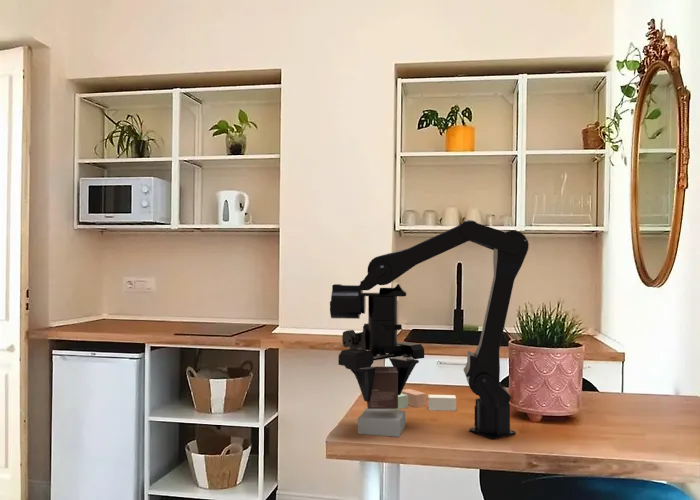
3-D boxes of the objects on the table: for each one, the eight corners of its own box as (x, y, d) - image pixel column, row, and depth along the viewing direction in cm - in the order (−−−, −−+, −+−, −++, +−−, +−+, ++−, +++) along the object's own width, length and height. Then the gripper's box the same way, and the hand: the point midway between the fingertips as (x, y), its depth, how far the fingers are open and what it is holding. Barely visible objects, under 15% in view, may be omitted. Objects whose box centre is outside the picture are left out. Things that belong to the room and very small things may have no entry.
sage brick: (398, 405, 145) (398, 392, 145) (408, 408, 142) (408, 395, 142) (379, 409, 141) (379, 396, 141) (388, 412, 139) (388, 398, 139)
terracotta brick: (426, 406, 144) (426, 393, 144) (416, 408, 142) (416, 395, 142) (408, 401, 149) (408, 388, 149) (399, 403, 147) (399, 390, 147)
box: (398, 409, 121) (398, 371, 121) (367, 409, 121) (367, 371, 121) (396, 402, 127) (396, 366, 127) (366, 402, 127) (366, 366, 128)
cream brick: (454, 408, 142) (455, 395, 142) (456, 411, 139) (456, 398, 139) (428, 407, 143) (428, 394, 143) (428, 411, 140) (428, 397, 140)
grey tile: (405, 425, 127) (405, 410, 127) (398, 436, 119) (399, 421, 120) (366, 422, 129) (366, 408, 129) (357, 433, 121) (357, 418, 121)
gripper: (387, 313, 137) (387, 385, 137) (320, 319, 124) (320, 398, 124) (426, 317, 128) (426, 393, 128) (358, 323, 116) (358, 408, 116)
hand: (382, 398), depth 124 cm, fingers closed on box, 8 cm apart
